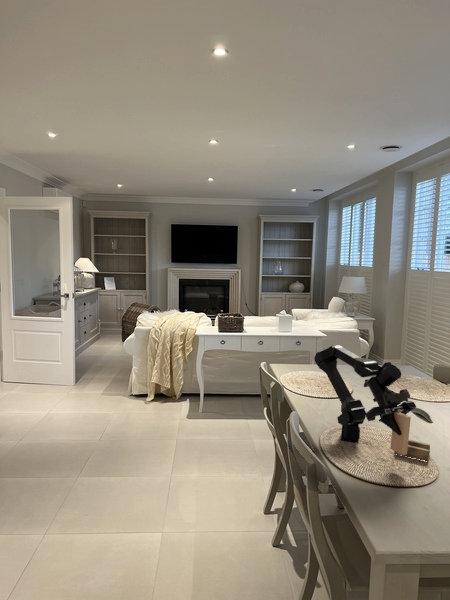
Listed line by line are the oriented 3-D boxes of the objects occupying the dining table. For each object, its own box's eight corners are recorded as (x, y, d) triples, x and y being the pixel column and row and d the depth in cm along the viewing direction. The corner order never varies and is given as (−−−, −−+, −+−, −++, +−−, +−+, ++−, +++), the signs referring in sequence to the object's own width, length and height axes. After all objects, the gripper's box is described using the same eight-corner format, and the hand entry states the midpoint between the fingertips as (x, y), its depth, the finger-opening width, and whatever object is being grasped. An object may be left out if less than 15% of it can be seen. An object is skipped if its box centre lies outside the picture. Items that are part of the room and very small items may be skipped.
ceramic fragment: (409, 411, 196) (410, 403, 195) (419, 411, 196) (420, 403, 196) (429, 424, 182) (429, 415, 181) (439, 423, 183) (440, 415, 182)
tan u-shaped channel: (394, 454, 151) (394, 444, 151) (397, 446, 158) (398, 436, 158) (427, 462, 146) (428, 452, 145) (429, 453, 153) (430, 443, 152)
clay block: (390, 448, 143) (393, 412, 142) (395, 447, 144) (398, 411, 143) (401, 455, 139) (405, 417, 138) (407, 454, 140) (410, 416, 138)
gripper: (374, 384, 139) (398, 428, 130) (414, 378, 147) (439, 420, 138) (356, 399, 147) (377, 442, 138) (394, 393, 154) (417, 433, 146)
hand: (403, 434), depth 140 cm, fingers closed on clay block, 2 cm apart
